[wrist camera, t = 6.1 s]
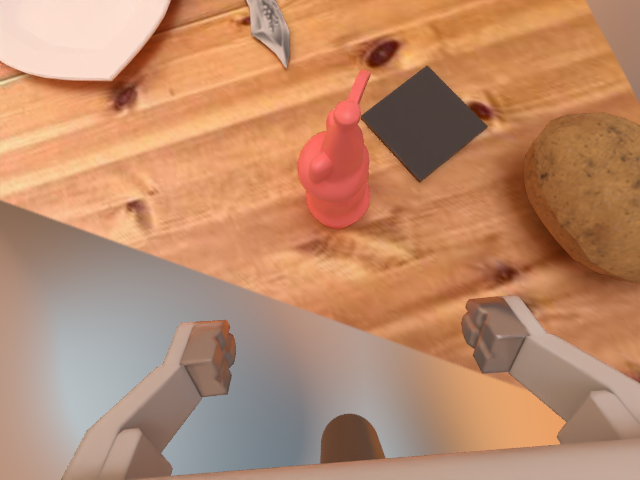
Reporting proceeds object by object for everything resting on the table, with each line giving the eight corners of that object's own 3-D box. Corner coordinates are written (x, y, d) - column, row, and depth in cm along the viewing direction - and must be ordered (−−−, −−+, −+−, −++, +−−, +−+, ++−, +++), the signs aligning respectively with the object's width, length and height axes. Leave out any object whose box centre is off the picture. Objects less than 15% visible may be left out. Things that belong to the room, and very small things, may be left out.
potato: (543, 120, 28) (627, 54, 20) (672, 234, 26) (819, 209, 18) (468, 190, 27) (525, 148, 20) (595, 313, 25) (716, 322, 18)
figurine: (318, 170, 28) (308, 31, 13) (373, 188, 28) (426, 65, 13) (298, 223, 27) (264, 139, 12) (355, 242, 27) (388, 178, 12)
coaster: (419, 182, 28) (420, 180, 27) (360, 118, 29) (361, 115, 28) (485, 128, 28) (488, 126, 28) (425, 68, 29) (427, 65, 29)
